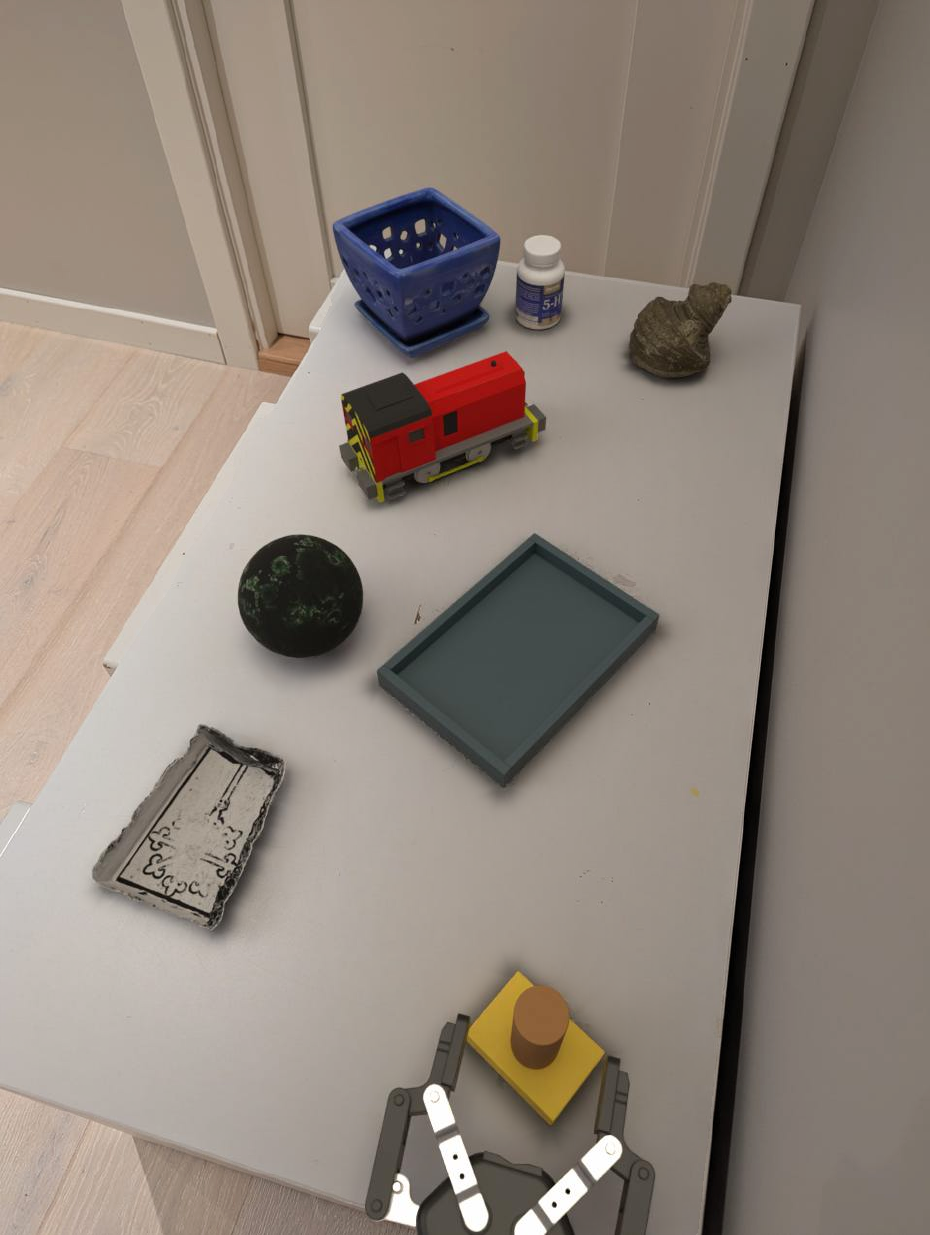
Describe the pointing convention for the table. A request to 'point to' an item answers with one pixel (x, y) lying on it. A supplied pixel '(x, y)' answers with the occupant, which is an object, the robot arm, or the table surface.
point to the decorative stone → (300, 596)
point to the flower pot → (419, 268)
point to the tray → (517, 656)
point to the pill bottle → (540, 283)
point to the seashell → (678, 331)
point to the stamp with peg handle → (535, 1045)
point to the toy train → (435, 423)
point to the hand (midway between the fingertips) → (537, 1037)
